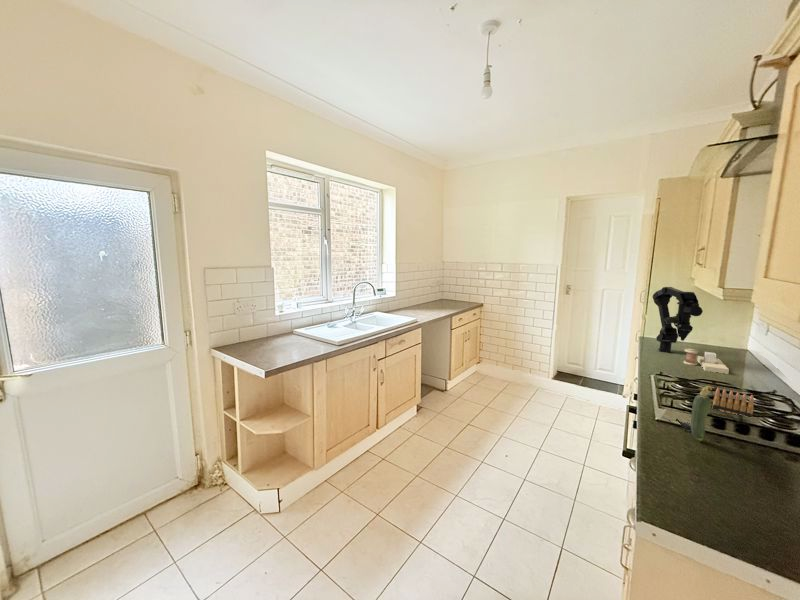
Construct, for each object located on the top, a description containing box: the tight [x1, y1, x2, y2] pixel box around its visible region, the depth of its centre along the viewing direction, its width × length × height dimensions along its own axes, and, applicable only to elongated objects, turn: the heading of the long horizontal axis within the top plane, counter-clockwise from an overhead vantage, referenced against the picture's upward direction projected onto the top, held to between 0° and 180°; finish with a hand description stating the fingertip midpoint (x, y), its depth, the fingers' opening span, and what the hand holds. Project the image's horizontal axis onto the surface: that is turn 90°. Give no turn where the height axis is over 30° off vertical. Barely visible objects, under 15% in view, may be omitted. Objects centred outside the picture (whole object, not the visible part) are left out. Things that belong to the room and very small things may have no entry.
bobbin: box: [682, 348, 700, 366], centre depth 181 cm, size 6×6×8 cm
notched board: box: [696, 355, 730, 375], centre depth 176 cm, size 20×9×3 cm, turn 146°
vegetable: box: [690, 385, 713, 442], centre depth 108 cm, size 4×4×20 cm
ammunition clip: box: [711, 387, 755, 418], centre depth 120 cm, size 11×2×12 cm, turn 44°
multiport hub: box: [676, 419, 691, 430], centre depth 119 cm, size 4×11×2 cm, turn 0°
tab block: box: [703, 351, 717, 364], centre depth 177 cm, size 4×4×7 cm
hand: (680, 338), depth 189 cm, fingers open, 9 cm apart
